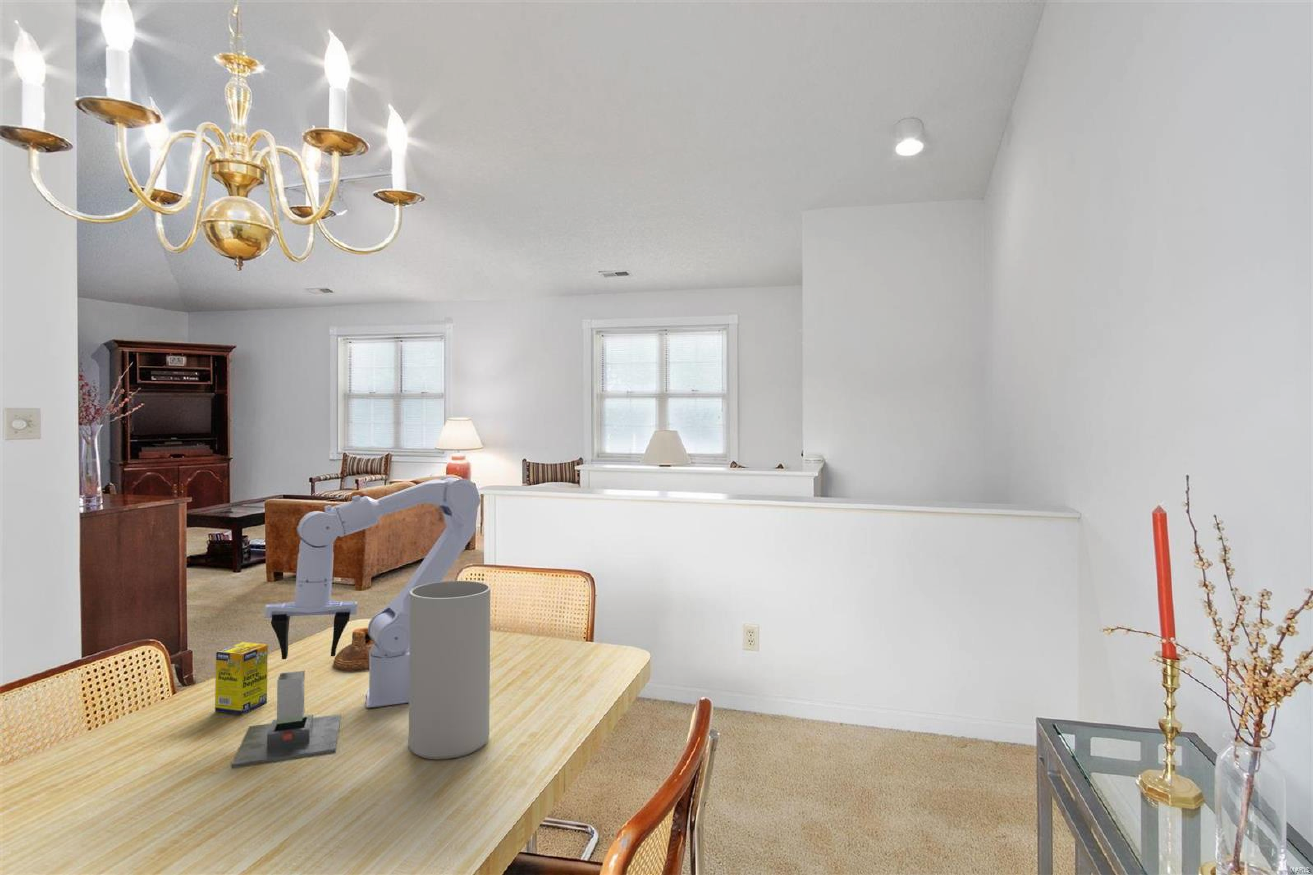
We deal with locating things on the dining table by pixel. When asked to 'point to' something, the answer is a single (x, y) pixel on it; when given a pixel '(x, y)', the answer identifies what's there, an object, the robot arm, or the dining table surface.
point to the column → (290, 697)
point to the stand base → (288, 740)
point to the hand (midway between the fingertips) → (309, 656)
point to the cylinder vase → (449, 668)
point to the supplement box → (241, 678)
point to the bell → (355, 652)
